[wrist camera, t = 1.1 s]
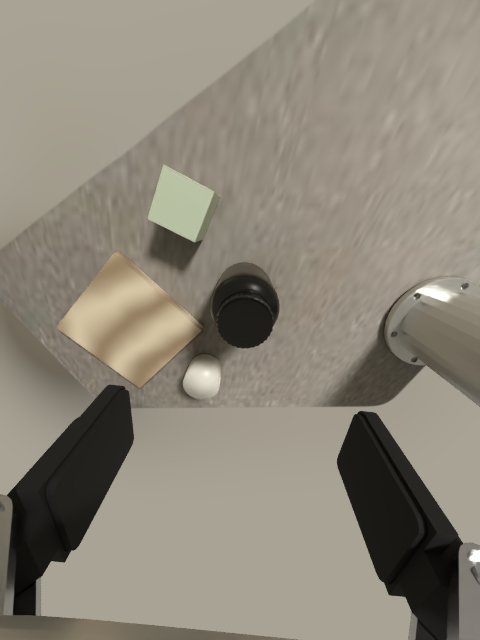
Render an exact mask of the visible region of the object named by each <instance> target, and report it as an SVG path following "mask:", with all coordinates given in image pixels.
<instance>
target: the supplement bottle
mask: <svg viewBox="0 0 480 640" xmlns="http://www.w3.org/2000/svg"><path fill="white" fill-rule="evenodd" d="M210 311H211V316H212V319H213V321H214V323H215V325H216V326H217V328H218V332H219V333H220V335H221V337H223V339H224V340H225V341H227V343H228V344H231V345H232V346H236V347H237V348H250V347H255V346H258V345H260V344H261V343H263V342H264V341H265V340H267V338H268V336H270V333H271V332H272V327H273V326H274V324H275V322H276V320H277V318H278V315H279V299H278V296H277V293H276V291H275V289H274V287H273V285H272V283H271V281H270V279H269V277H268V276H267V274H266V273H265V272H264V271H263V270H262V269H261V268H260V267H258V266H257V265H255V264H252V263H237V264H234V265H232V266H230V267H229V268H228V269H226V270H225V271H224V273H223V274H222V276H221V277H220V279H219V281H218V284H217V286H216V288H215V290H214V293H213V295H212V298H211V303H210Z"/></svg>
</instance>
